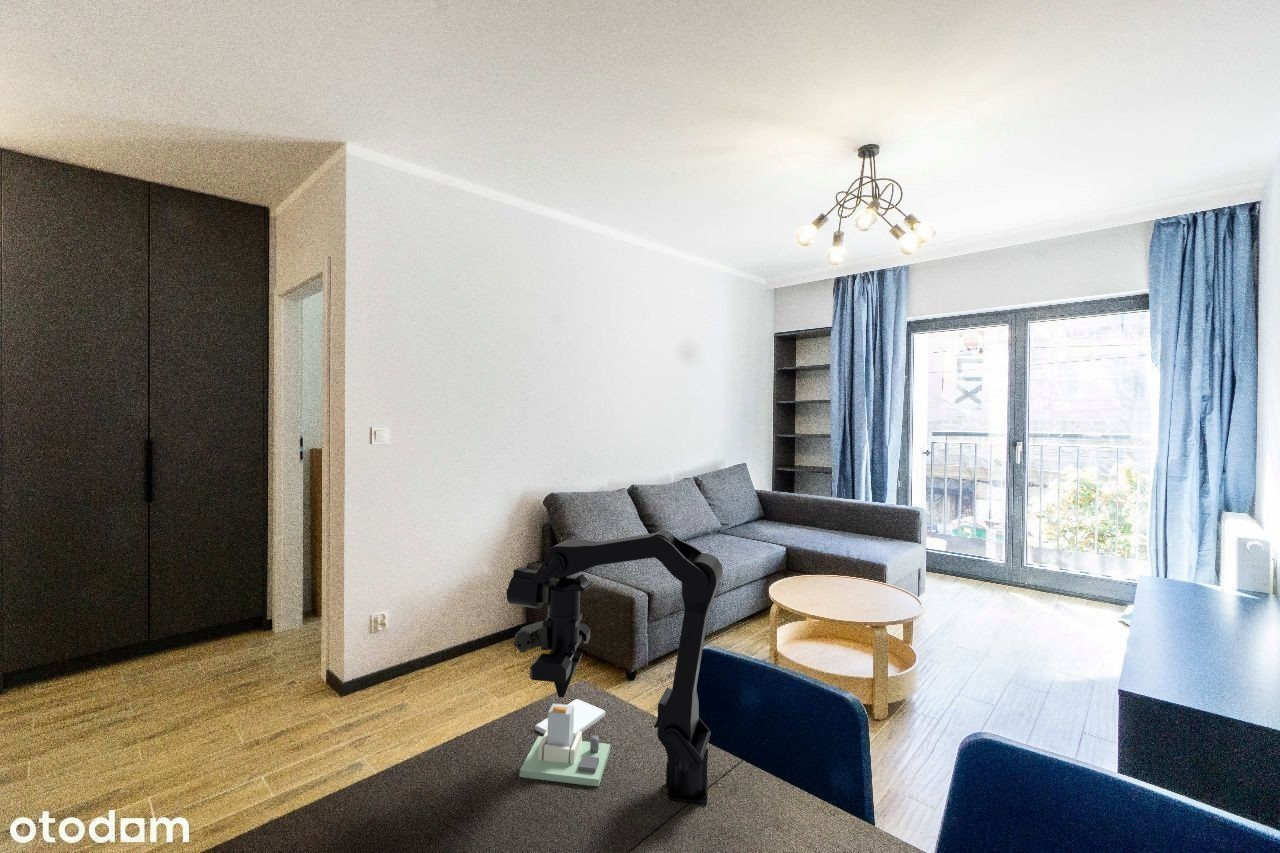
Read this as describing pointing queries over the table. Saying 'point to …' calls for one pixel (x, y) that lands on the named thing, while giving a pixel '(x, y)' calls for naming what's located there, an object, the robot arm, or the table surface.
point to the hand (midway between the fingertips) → (561, 696)
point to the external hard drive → (578, 716)
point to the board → (567, 761)
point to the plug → (560, 725)
